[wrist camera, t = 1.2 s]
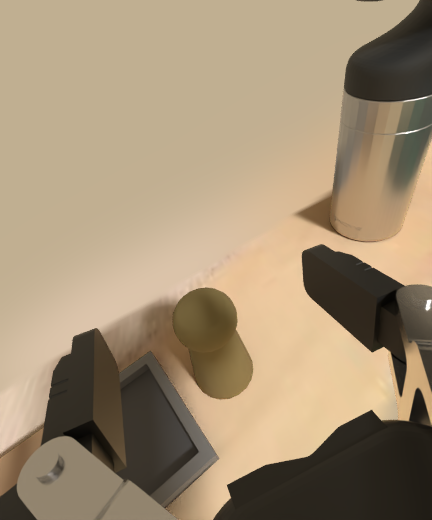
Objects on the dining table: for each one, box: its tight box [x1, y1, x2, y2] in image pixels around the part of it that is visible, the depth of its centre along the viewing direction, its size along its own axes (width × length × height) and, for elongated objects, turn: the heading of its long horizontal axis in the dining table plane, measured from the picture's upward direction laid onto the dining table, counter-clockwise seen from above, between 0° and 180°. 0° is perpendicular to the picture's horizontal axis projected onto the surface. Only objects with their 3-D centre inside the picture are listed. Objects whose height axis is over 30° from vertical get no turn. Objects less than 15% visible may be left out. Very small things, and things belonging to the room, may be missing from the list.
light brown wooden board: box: [0, 427, 44, 496], centre depth 24 cm, size 8×12×2 cm, turn 36°
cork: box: [173, 288, 253, 399], centre depth 27 cm, size 6×6×11 cm
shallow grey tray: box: [115, 351, 219, 508], centre depth 27 cm, size 10×12×2 cm
